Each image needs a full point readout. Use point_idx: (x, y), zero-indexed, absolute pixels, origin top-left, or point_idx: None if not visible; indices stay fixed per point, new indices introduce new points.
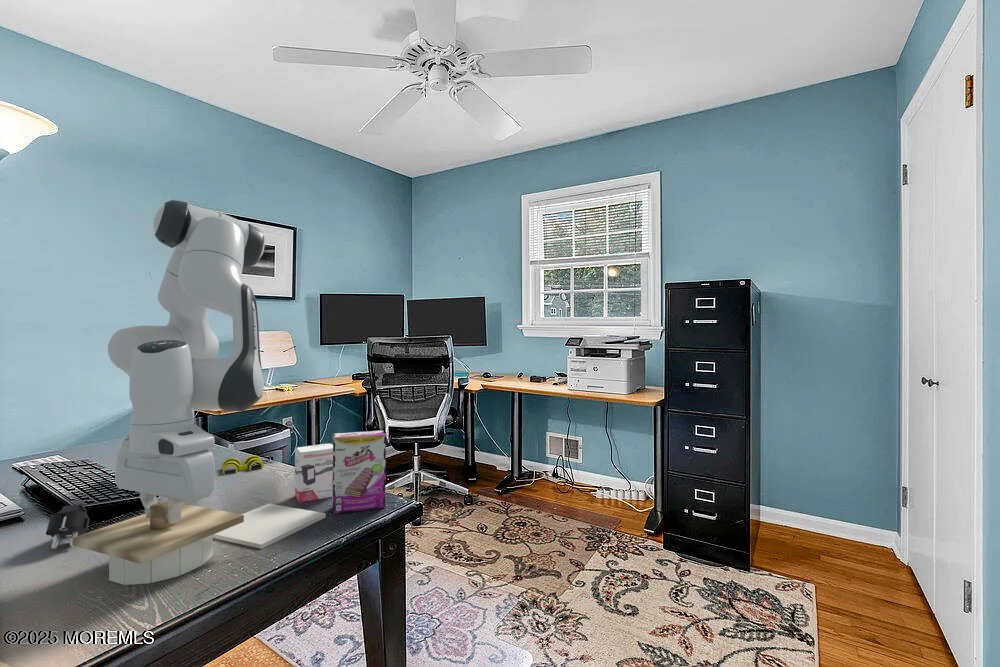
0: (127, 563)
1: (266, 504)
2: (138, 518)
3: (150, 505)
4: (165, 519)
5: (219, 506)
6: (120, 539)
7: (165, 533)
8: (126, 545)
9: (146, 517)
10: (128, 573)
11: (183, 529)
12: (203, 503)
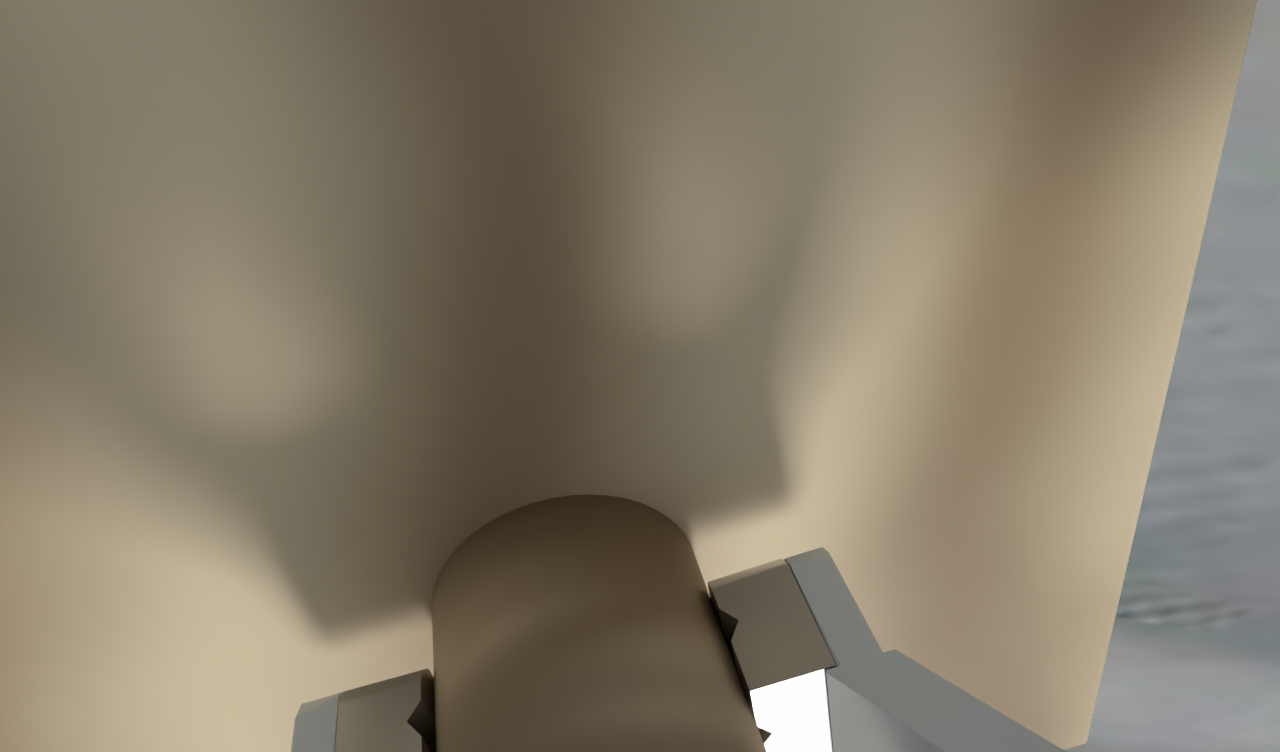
0: None
1: None
2: (1077, 467)
3: (862, 729)
4: (402, 708)
5: (1118, 730)
6: (475, 151)
7: (223, 579)
8: (46, 137)
9: (803, 560)
10: None
11: (218, 711)
12: (1252, 687)
